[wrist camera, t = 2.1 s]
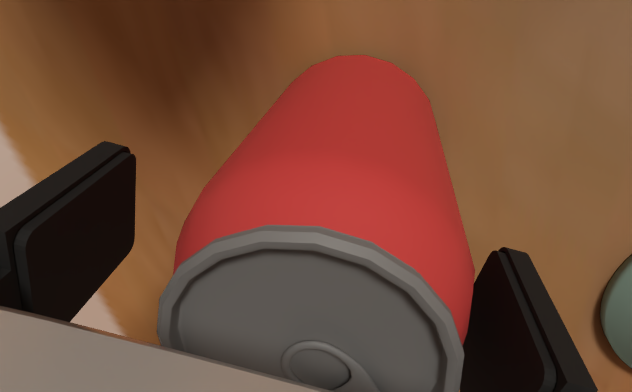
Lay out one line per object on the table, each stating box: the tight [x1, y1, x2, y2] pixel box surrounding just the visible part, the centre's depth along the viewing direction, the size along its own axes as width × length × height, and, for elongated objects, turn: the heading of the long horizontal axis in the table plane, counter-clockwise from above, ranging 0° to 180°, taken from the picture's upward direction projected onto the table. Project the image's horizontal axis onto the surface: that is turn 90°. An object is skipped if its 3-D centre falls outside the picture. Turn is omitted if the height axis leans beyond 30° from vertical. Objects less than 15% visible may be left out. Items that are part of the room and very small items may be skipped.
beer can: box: [157, 55, 475, 392], centre depth 13 cm, size 7×7×12 cm
